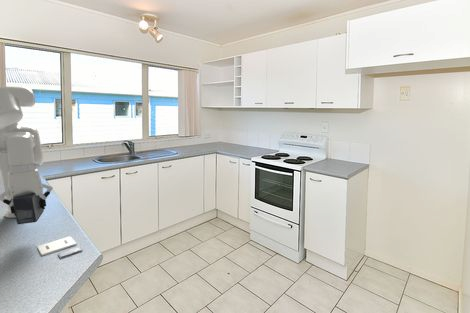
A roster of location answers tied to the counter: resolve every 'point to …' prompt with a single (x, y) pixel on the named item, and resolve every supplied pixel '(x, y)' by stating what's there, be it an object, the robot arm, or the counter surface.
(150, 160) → the counter surface
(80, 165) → the counter surface
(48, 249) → the outlet plate
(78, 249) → the phone
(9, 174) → the robot arm
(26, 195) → the small box
